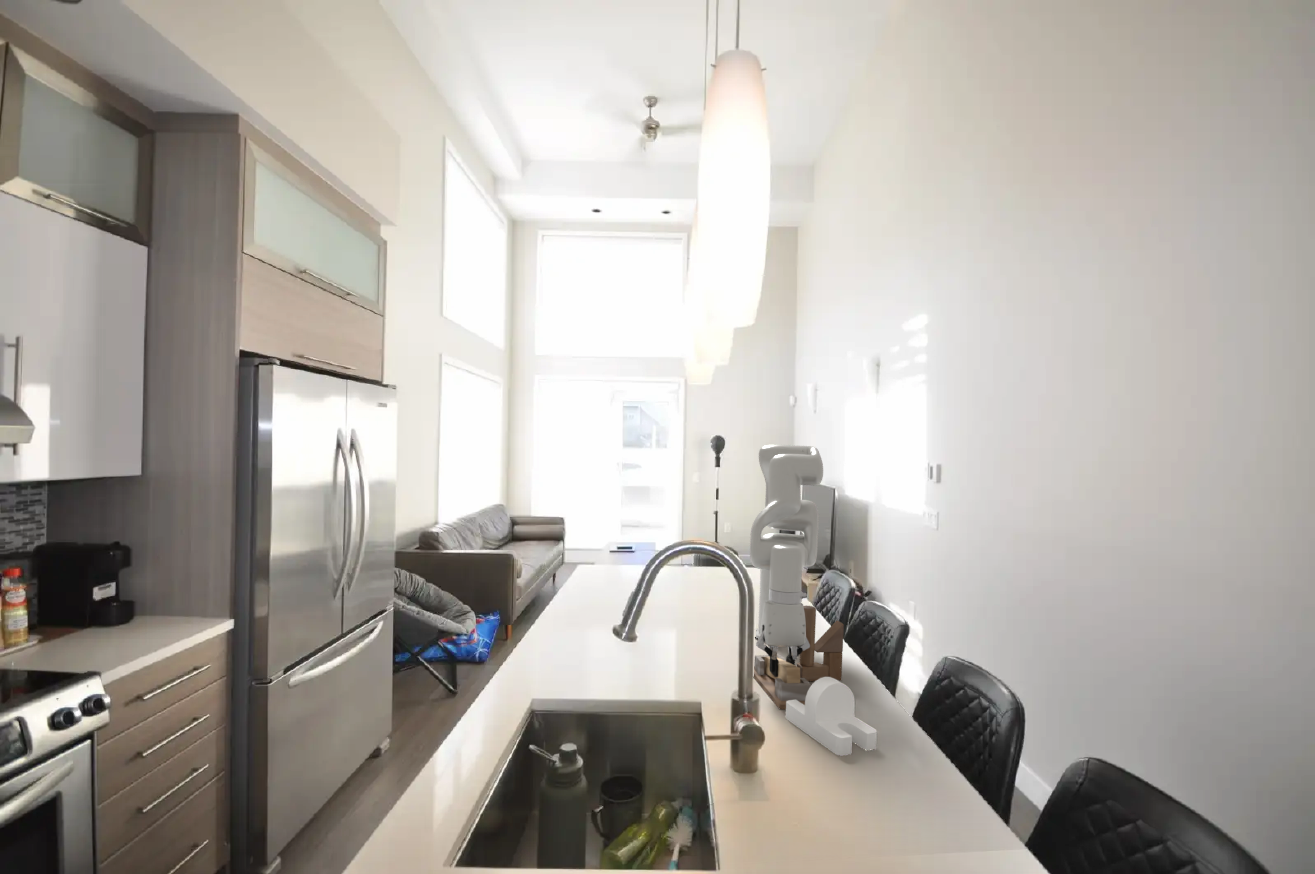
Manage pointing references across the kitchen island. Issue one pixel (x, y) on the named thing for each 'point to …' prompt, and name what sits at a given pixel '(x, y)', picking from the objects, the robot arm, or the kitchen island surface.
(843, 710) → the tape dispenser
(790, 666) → the oak slat
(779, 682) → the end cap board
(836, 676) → the wooden block
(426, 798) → the kitchen island surface
